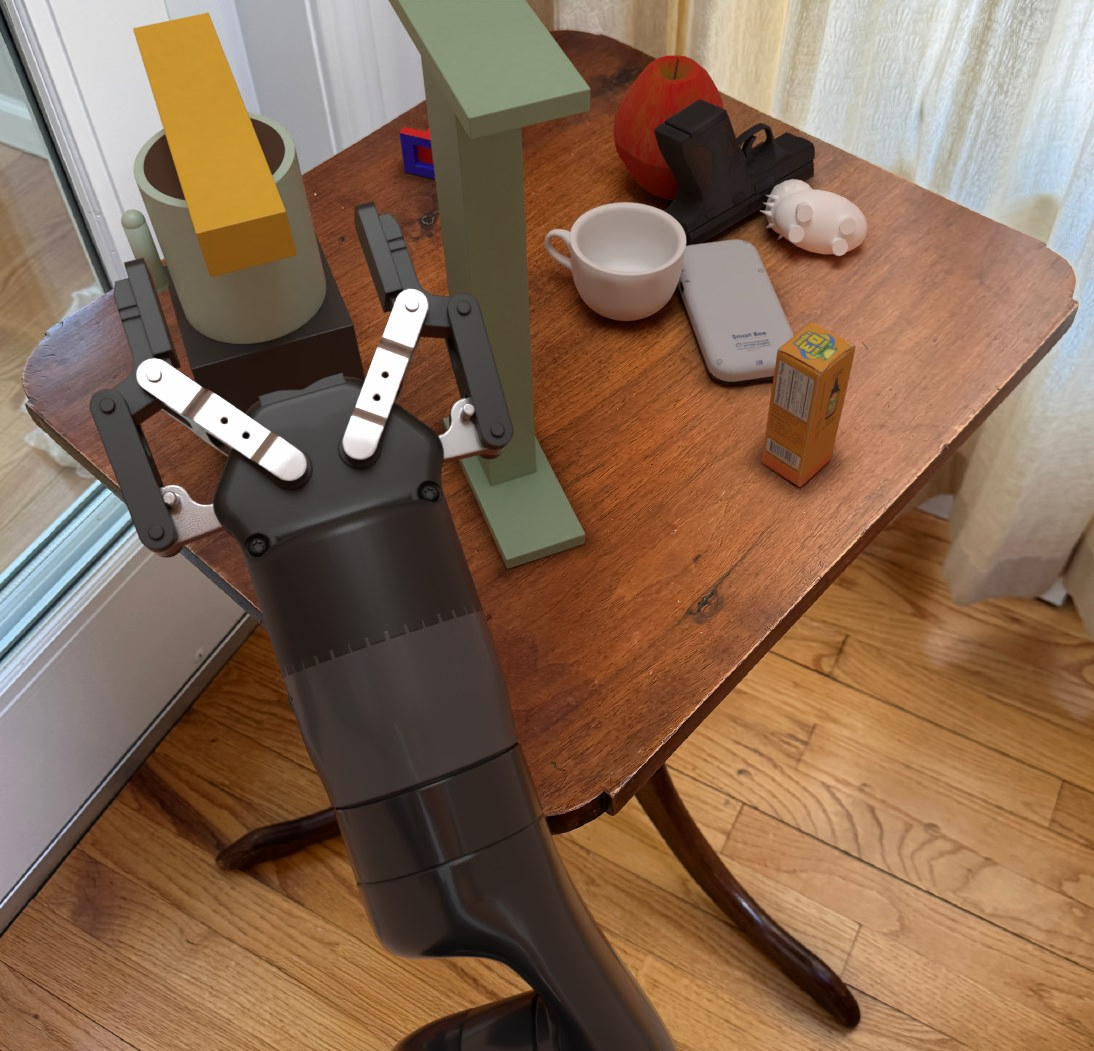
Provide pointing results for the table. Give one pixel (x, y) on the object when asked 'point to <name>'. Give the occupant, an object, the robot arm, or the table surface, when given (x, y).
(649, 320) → the table surface
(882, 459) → the table surface
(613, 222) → the teacup
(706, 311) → the grey smart device
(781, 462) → the supplement box
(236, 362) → the hollow cylinder with base
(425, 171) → the toy building block
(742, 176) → the handgun
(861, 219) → the toy creature
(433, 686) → the robot arm
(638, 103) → the apple
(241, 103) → the rectangular block
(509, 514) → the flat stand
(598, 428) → the table surface
